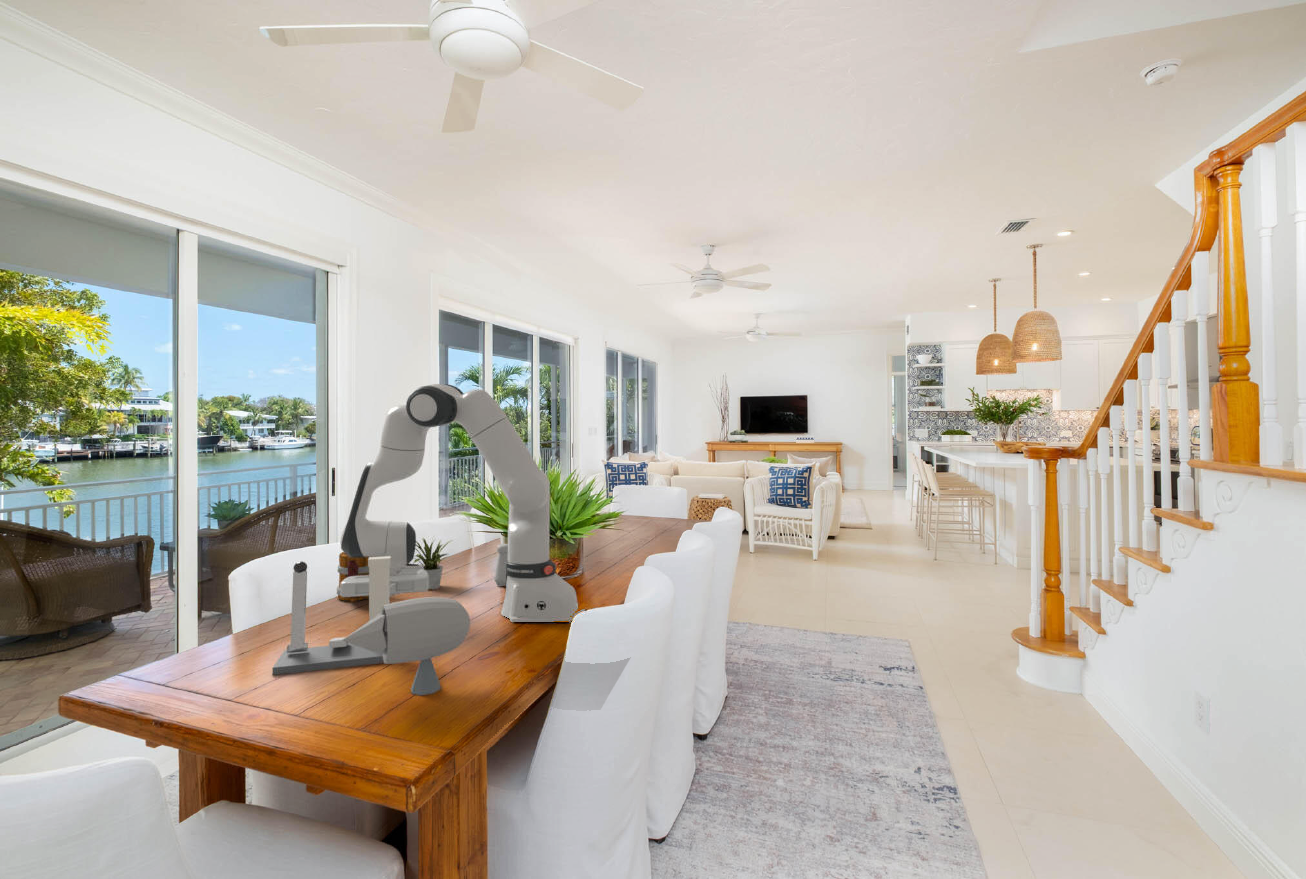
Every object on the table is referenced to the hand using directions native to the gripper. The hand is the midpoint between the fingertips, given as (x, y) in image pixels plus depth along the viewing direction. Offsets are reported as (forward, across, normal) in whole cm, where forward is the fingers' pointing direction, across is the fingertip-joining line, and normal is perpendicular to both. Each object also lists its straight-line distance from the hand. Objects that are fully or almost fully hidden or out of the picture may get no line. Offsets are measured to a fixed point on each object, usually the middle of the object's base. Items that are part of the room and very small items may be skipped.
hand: (383, 592), depth 144 cm
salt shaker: (-38, +32, +10) cm, 50 cm away
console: (+13, -8, +10) cm, 18 cm away
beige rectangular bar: (+11, 0, +8) cm, 14 cm away
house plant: (-42, +9, +10) cm, 44 cm away
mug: (-35, -10, +11) cm, 38 cm away
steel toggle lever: (+11, -16, +8) cm, 21 cm away
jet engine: (+34, +8, +10) cm, 36 cm away
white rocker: (+11, -8, +8) cm, 16 cm away
